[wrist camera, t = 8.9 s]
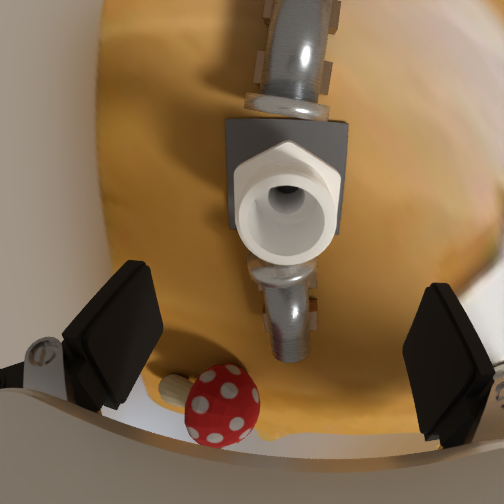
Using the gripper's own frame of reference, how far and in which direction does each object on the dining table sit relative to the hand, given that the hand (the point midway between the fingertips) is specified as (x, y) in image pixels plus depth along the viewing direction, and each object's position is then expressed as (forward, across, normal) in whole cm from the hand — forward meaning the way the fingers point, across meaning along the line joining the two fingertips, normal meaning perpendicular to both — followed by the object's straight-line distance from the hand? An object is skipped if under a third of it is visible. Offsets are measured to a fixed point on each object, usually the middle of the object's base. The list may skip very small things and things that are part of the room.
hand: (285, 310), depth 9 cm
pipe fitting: (+15, +1, -1) cm, 15 cm away
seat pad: (+15, +1, -1) cm, 15 cm away
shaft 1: (+14, 0, -11) cm, 18 cm away
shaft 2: (+15, 0, +9) cm, 18 cm away
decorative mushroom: (+15, +9, +24) cm, 30 cm away
